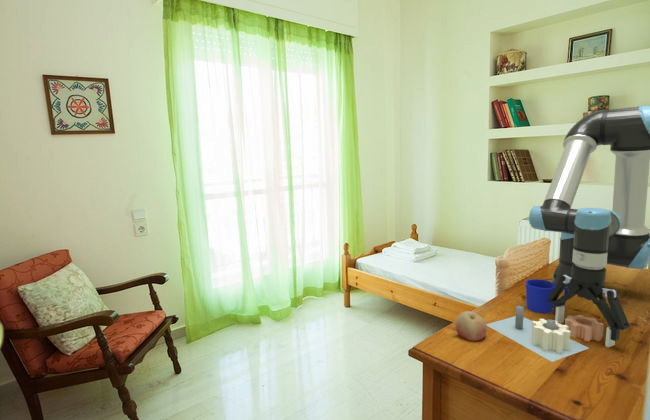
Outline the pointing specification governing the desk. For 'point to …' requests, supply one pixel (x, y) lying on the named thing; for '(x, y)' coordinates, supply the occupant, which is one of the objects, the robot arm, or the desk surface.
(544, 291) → the mug
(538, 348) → the gear board
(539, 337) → the gear
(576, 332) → the loose gear
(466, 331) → the fruit
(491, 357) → the desk surface
